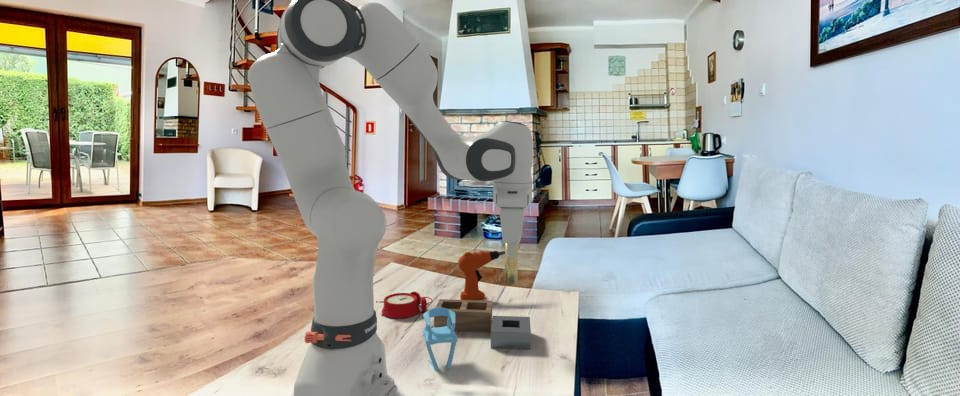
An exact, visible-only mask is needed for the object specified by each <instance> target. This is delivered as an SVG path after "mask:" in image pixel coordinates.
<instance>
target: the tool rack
mask: <svg viewBox="0 0 960 396" xmlns="http://www.w3.org/2000/svg"><path fill="white" fill-rule="evenodd" d="M436 307H443V308H446V309H449V310H451V311H453V312H455V328H454V332H473V333H474V332H475V333H491V326H492V318H493V300H483V299H482V300H461V299H447V298H446V299H445V298H444V299H443V298H441V299H438V301H437V304H436V306H435V308H436ZM447 320H448V316H434V317H433V324H434V325H433V328H436V327H444V326H447ZM451 326H452V321H451Z"/></svg>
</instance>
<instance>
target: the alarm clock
mask: <svg viewBox="0 0 960 396" xmlns="http://www.w3.org/2000/svg"><path fill="white" fill-rule="evenodd" d="M427 299H429V300H431V301H428V302H427ZM433 301H434V300H433V299H432V298H431V297H429V296H421V294H420V293H419V292H418V291H412V292H410V293H408V292H396V293H390V294H389V295H387V296H385V297H384V299H383V300H382V301H379V303H383V307H382V309H381V314H380V315H381V317H383V316H384V317H385V318H391V319H406V318H407V319H408V318H411V317H414V316H416V315H418V314H419V313H420V307H421V313H422V314H424V313H425V312H427V310H428V305H429V304H431V303H433ZM375 303H378V300H376V301H375ZM419 305H420V306H419Z"/></svg>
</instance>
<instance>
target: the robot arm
mask: <svg viewBox="0 0 960 396" xmlns="http://www.w3.org/2000/svg"><path fill="white" fill-rule="evenodd" d="M275 45H276V46H275V51H273V52H270V53H266V54H263V55H262V56H260V57H258V58H257V59H256V60H255V61H254V62H253V63H252V64H251V66H249V69H248V75H247V76H248V81H249V85H250V90H251V94H252V97H253V101H254V103H255V106H256V109H257V112H258V115H259V117H260V120H261V122H262V124H263V126H264V128H265V132H266V133H267V135H268V138H269V139H270V141H271V143H272V146H273V148H274V150H275V151H276V155H277V156H278V160H280V163H281V166H282V167H283V169H284V173H285V175H286V177H287V180H288V184H289V187H290V190H291V192H292V196H293V198H294V200H295V203H296V205H297V208H298V211H299V214H300V216H301V218H302V220H303V224H304V225H305V227H306V229H308V231H309V232H310V233H311V234H313V235H314V236H315V237H316V239H317V258H316V265H315V272H314V274H313V276H312V292H313V293H312V294H313V312H314V314H313V317H312V322H311V326H310V330H308V331H306V333H304V342H305V344H309V345H308V348H307V351H306V352H305V356H304V358H303V360H302V363H301V365H300V368H299V370H298V374H297V375H296V379H295V382H294V385H293V392H292V394H291V395H290V396H387V394H388V393H389V392H390V391H391V390H392V389H393V388H394V387H395V385H396V383H395V378H394V377H392V376H391V375H389V374H388V370H387V359H386V347H385V342H383V340H382V339H381V338H380V337H379V335H378V334H377V331H378V327H377V326H378V325H377V324H378V317H377V311H376V310H375V306H374V305H375V303H374V299H375V298H374V270H375V265H376V259H377V253H378V248H379V243H380V242H381V241H382V239H383V237H384V236H385V234H386V230H387V218H386V214H385V212H384V210H383V208H382V207H381V206H380V205H379V204H378V202H377V201H375V199H374V198H372V197H371V196H370V195H369V194H366V193H365V192H361V191H358V190H356V189H355V187H354V185H353V184H352V181H351V177H350V174H349V173H350V172H349V169H348V165H347V160H346V148H345V144H344V142H343V140H342V137H341V135H340V133H339V131H338V128H337V125H336V123H335V120H334V118H333V115H332V113H331V111H330V108H329V105H328V104H327V101H326V100H325V97H324V94H323V92H322V90H321V85H320V72H321V70H322V69H323V68H325V67H327V66H331V65H333V64H334V63H336V62H338V61H339V60H340V59H342V58H344V57H346V58H349V59H351V60H354V61H355V62H357V63H358V64H360V66H362V67H363V68H365V70H366V71H367V72H368V73H369V75H370V76H371V77H372V79H374V80H375V82H376V83H377V84H378V86H380V87H381V89H383V91H385V93H386V94H387V95H388V96H389V97H390V99H392V100H393V102H395V104H396V105H398V107H399V108H400V109H401V111H403V113H404V114H405V115H406V117H407V118H408V119H409V121H410V122H411V123H412V125H413V126H414V128H416V130H417V131H418V132H419V133H420V135H421V136H422V137H423V139H424V140H425V141H426V143H427V144H428V145H429V146H430V148H431V150H432V152H433V154H434V157H435V159H436V162H437V165H438V168H439V169H440V171H441V172H442V173H443V174H444V175H445V176H446V177H447V178H449V179H452V180H455V181H462V180H463V181H471V182H479V183H486V182H490V181H492V202H493V203H495V204H496V207H497V208H498V210H499V218H500V230H501V238H502V242H503V243H504V244H505V243H507V256H508V257H512V258H514V257H515V251H516V244H518V245H519V244H520V242H521V239H522V234H523V233H522V232H523V224H524V217H525V212H526V211H527V208H528V206H529V205H530V204H531V203H532V202H533V177H532V166H533V163H534V142H533V136H532V130H531V129H530V127H529V126H528V125H526V124H524V123H521V122H517V121H511V120H501V121H498V122H497V124H496V125H495V126H493V127H492V128H491V129H489V130H487V131H486V132H483V133H481V134H478V135H477V136H464V135H462V134H460V133H458V132H456V131H455V130H454V128H452V127H451V125H450V123H449V122H448V121H447V120H446V118H445V117H444V116H443V114H442V112H441V111H440V110H439V109H438V107H437V105H436V104H435V101H434V92H435V90H436V88H437V86H438V85H437V84H438V81H439V80H438V79H439V75H438V74H439V73H438V69H437V66H436V65H435V62H434V60H433V59H432V57H431V55H430V54H429V53H428V51H427V50H426V48H425V47H424V46H423V44H422V43H421V42H420V41H419V39H418V38H417V37H416V36H415V35H414V33H413V32H412V31H411V30H410V29H409V28H408V27H407V26H406V25H405V23H404V22H403V21H402V20H401V19H399V18H398V17H397V16H396V14H394V13H393V12H392V11H391V10H390V9H389V8H387V7H386V6H385V5H383V4H382V3H379V2H367V3H364V4H362V5H360V6H358V7H357V6H355V5H353V4H351V3H349V2H347V1H344V0H291V2H290V3H289V5H288V6H287V7H286V8H285V9H284V11H283V12H282V15H281V17H280V20H279V25H278V28H277V36H276V44H275Z"/></svg>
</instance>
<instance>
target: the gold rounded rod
mask: <svg viewBox="0 0 960 396" xmlns="http://www.w3.org/2000/svg"><path fill="white" fill-rule="evenodd" d="M504 251H505V254H504V283H505V284H507V285H516V284H518V281H519V280H518V276H519V274H518V273H519V243H518V244H516V251H515V257H514V258H512V257H508V256H507V243H504Z"/></svg>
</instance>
